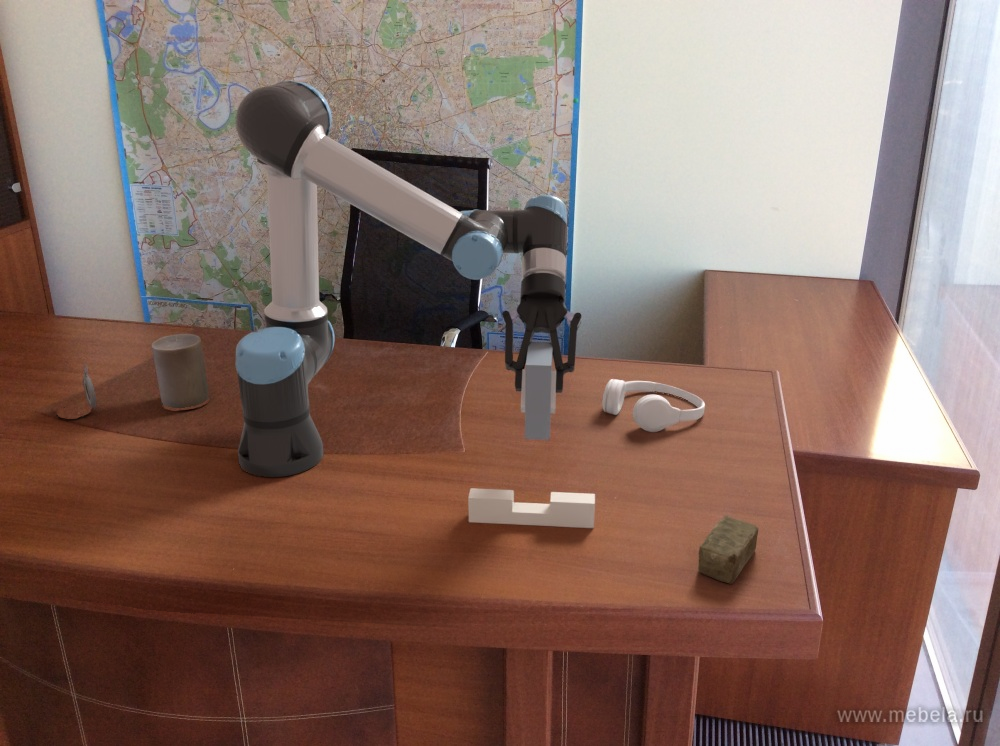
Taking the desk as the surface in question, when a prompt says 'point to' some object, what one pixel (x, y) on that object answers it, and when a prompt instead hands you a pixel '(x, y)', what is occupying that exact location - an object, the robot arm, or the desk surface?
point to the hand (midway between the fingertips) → (538, 409)
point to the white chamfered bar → (531, 509)
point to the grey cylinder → (180, 370)
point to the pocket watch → (89, 389)
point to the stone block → (727, 549)
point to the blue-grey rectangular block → (538, 390)
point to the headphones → (651, 404)
